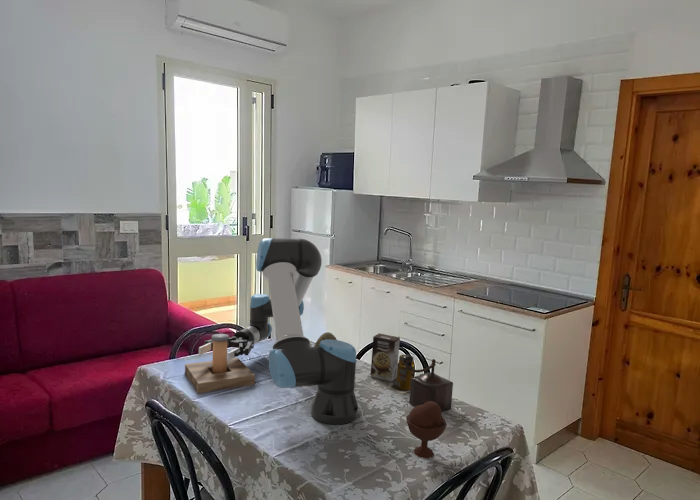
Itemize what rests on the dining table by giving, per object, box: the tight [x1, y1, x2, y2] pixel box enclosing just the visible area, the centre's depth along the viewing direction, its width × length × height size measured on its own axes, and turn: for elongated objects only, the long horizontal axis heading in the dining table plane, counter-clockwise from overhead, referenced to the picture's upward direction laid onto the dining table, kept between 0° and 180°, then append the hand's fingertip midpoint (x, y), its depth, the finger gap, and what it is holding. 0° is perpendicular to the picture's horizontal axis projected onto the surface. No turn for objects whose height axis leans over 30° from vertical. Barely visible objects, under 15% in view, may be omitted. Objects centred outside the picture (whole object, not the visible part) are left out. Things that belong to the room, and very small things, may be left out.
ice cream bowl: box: [405, 401, 448, 459], centre depth 133 cm, size 11×11×15 cm
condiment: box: [387, 354, 415, 395], centre depth 178 cm, size 7×8×12 cm
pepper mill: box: [402, 354, 454, 413], centre depth 162 cm, size 16×11×18 cm
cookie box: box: [370, 333, 401, 382], centre depth 188 cm, size 9×6×16 cm
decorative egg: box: [313, 331, 338, 347], centre depth 193 cm, size 11×11×15 cm
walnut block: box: [184, 356, 256, 394], centre depth 177 cm, size 20×20×4 cm
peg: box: [211, 333, 230, 374], centre depth 177 cm, size 6×6×16 cm
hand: (213, 354), depth 173 cm, fingers open, 11 cm apart
